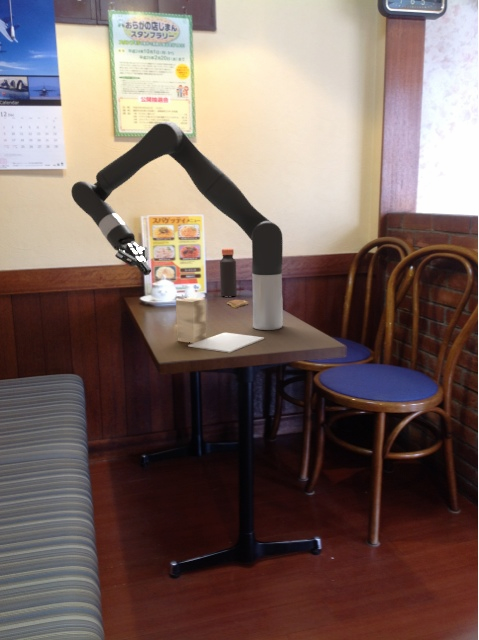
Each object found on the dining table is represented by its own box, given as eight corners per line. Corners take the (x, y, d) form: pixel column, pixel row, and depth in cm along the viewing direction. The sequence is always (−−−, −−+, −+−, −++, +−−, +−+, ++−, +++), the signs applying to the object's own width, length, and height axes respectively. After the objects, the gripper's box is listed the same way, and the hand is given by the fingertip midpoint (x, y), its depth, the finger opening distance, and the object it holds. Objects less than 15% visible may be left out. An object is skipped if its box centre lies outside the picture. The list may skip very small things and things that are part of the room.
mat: (224, 333, 174) (224, 332, 174) (264, 338, 166) (264, 337, 166) (188, 346, 159) (188, 345, 159) (229, 352, 151) (229, 351, 151)
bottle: (239, 296, 243) (238, 249, 239) (225, 298, 239) (224, 250, 235) (231, 294, 248) (230, 248, 244) (217, 296, 245) (216, 249, 241)
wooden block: (189, 336, 171) (188, 297, 168) (206, 338, 168) (205, 298, 165) (177, 340, 166) (175, 300, 164) (193, 343, 163) (192, 301, 160)
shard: (235, 309, 215) (235, 305, 215) (218, 308, 219) (218, 303, 219) (249, 305, 225) (249, 300, 224) (232, 303, 228) (232, 299, 228)
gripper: (106, 224, 168) (139, 267, 164) (137, 222, 179) (168, 262, 175) (94, 241, 172) (126, 284, 168) (125, 239, 183) (156, 279, 179)
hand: (148, 273), depth 172 cm, fingers closed
